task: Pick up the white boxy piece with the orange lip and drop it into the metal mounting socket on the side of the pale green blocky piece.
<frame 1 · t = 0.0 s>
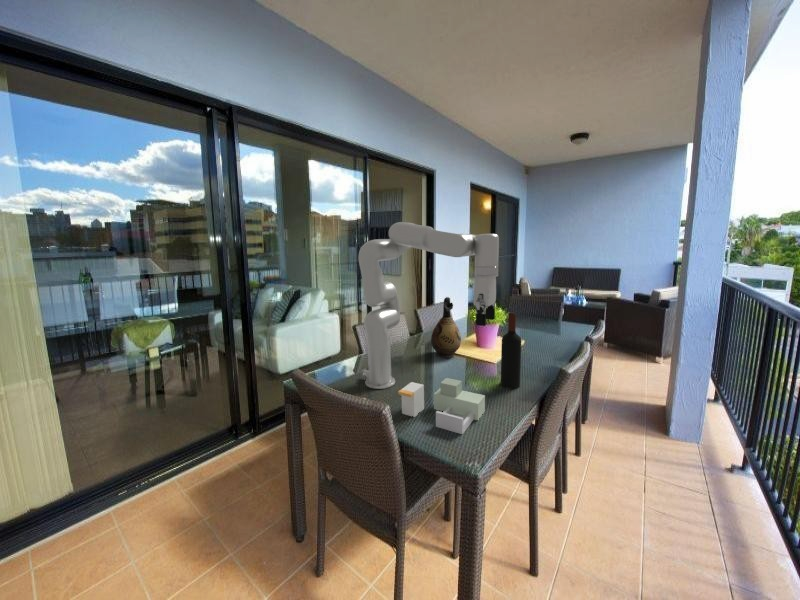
hand: (485, 322, 115), 31 cm above the table, tool pointing down, fingers open, 9 cm apart
white boxy piece: (413, 410, 120), on the table
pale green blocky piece: (454, 415, 116), on the table
ceramic jug: (445, 354, 179), on the table
wine bottle: (510, 385, 139), on the table
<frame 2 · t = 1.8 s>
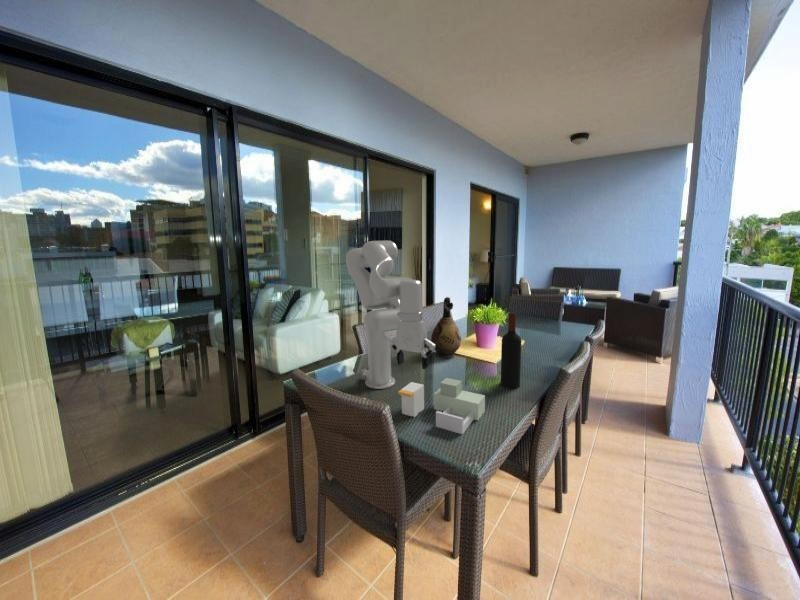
hand: (412, 365, 117), 17 cm above the table, tool pointing down, fingers open, 9 cm apart
nothing on the table moved.
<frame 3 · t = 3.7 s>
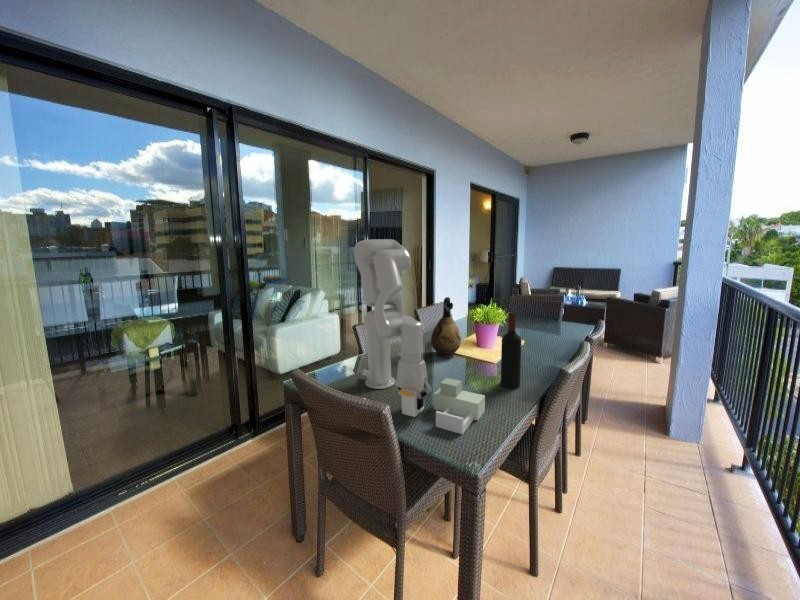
hand: (413, 405, 119), 2 cm above the table, tool pointing down, fingers closed on white boxy piece, 5 cm apart
white boxy piece: (413, 410, 120), on the table, touching gripper
everything else where it was.
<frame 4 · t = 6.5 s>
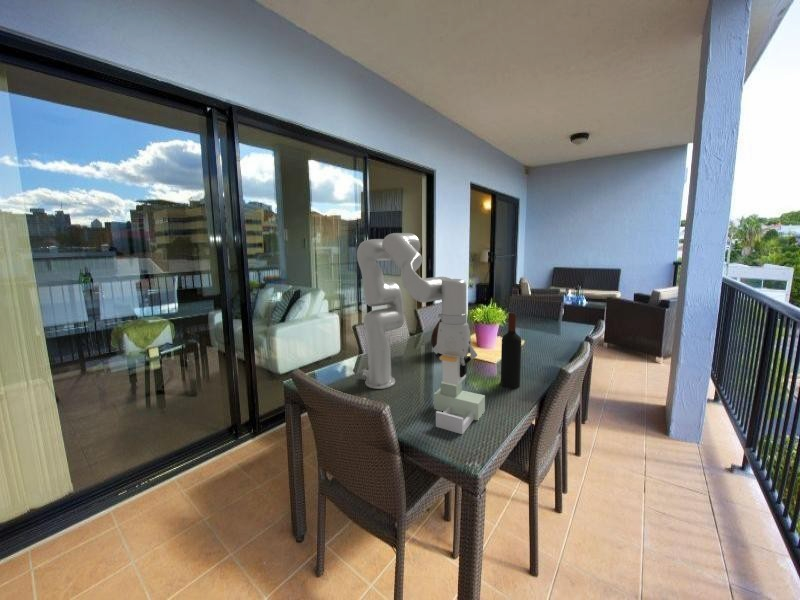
hand: (454, 373, 109), 17 cm above the table, tool pointing down, fingers closed on white boxy piece, 5 cm apart
white boxy piece: (454, 379, 109), point 15 cm above the table, touching gripper
everything else where it was.
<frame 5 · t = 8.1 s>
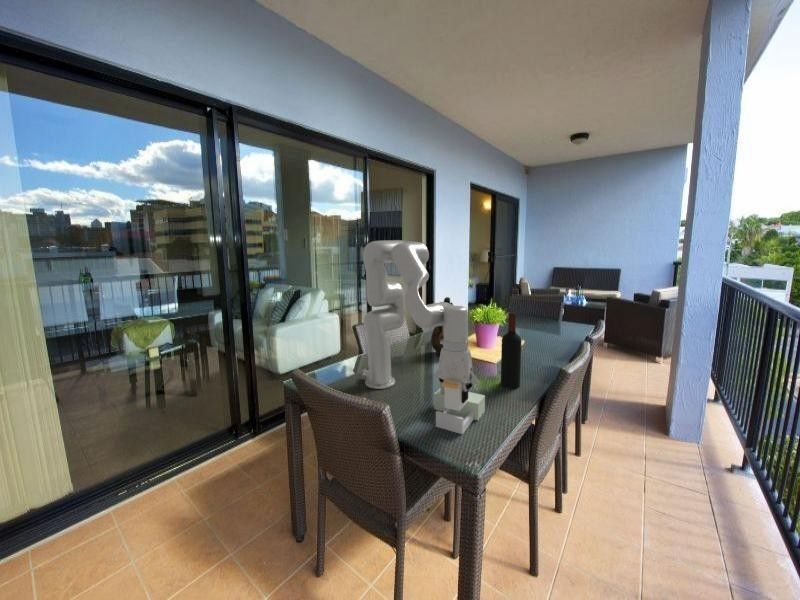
hand: (456, 398, 110), 8 cm above the table, tool pointing down, fingers closed on white boxy piece, 5 cm apart
white boxy piece: (456, 404, 110), point 6 cm above the table, touching gripper
everything else where it was.
when the fingers open (4 cm above the table, at t = 9.4 s): white boxy piece drops 1 cm, resting on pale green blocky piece.
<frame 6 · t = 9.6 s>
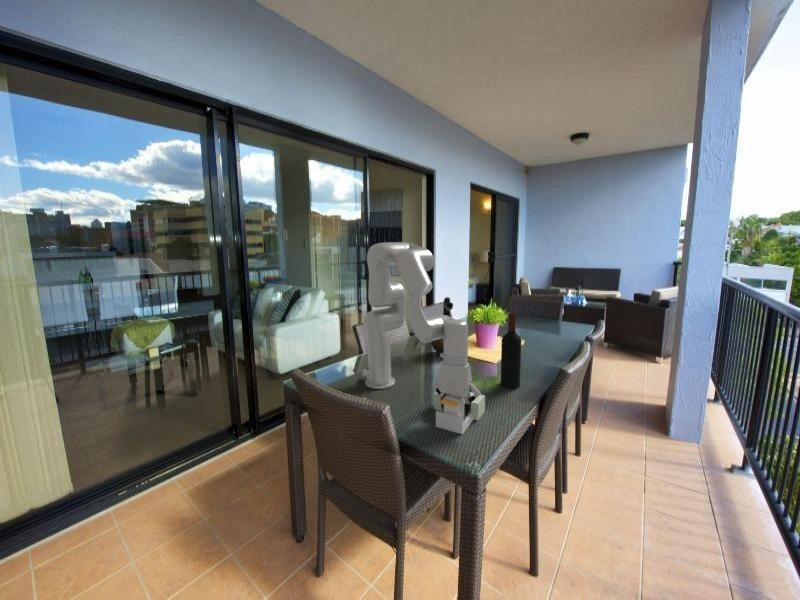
hand: (455, 410, 111), 4 cm above the table, tool pointing down, fingers open, 7 cm apart
white boxy piece: (455, 421, 111), resting on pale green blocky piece
everything else where it was.
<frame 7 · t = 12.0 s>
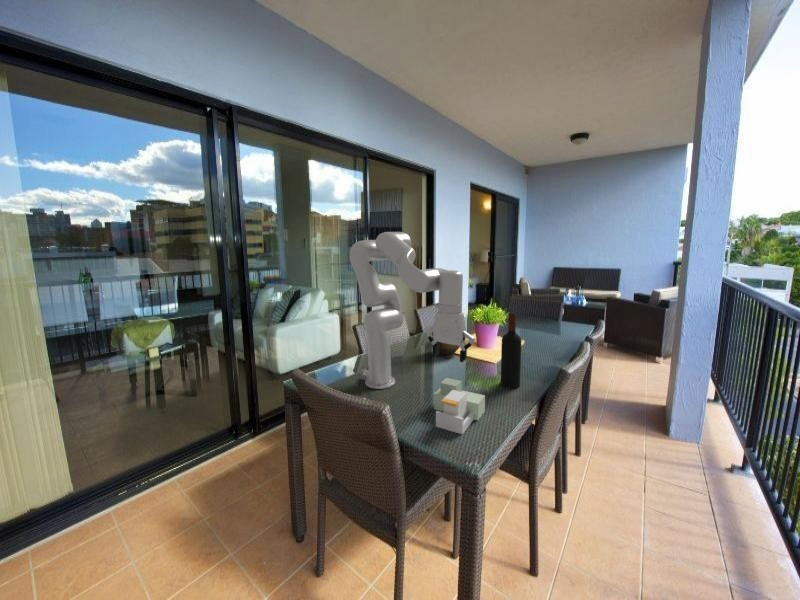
hand: (449, 358, 114), 20 cm above the table, tool pointing down, fingers open, 9 cm apart
nothing on the table moved.
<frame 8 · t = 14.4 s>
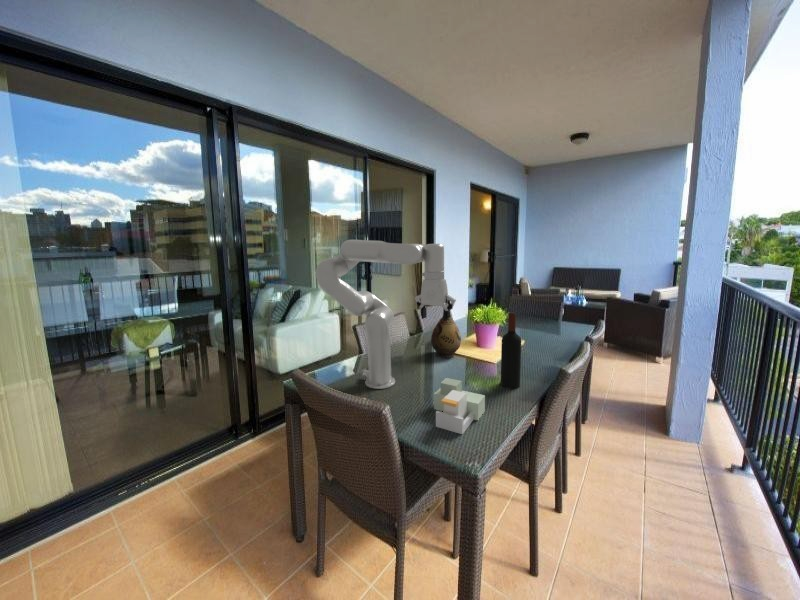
hand: (434, 319, 134), 28 cm above the table, tool pointing down, fingers open, 9 cm apart
nothing on the table moved.
at the end: white boxy piece 0.1 cm from the target spot on the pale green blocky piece, point 0.4 cm above the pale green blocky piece's base; white boxy piece tilted 0°; the gripper is holding nothing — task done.
